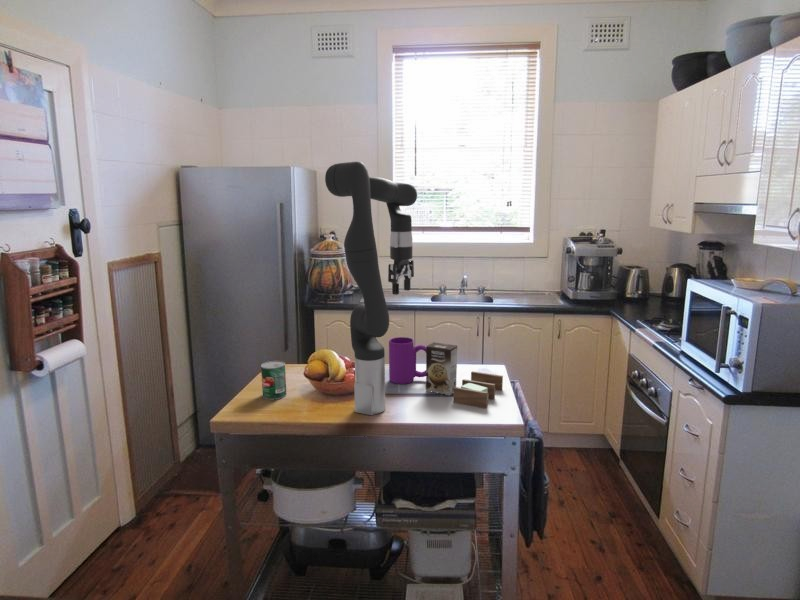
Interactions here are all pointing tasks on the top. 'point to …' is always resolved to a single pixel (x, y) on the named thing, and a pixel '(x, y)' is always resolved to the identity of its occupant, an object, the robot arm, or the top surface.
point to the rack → (476, 396)
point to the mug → (403, 360)
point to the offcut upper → (475, 387)
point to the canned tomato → (273, 380)
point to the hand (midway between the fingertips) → (401, 292)
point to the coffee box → (441, 368)
